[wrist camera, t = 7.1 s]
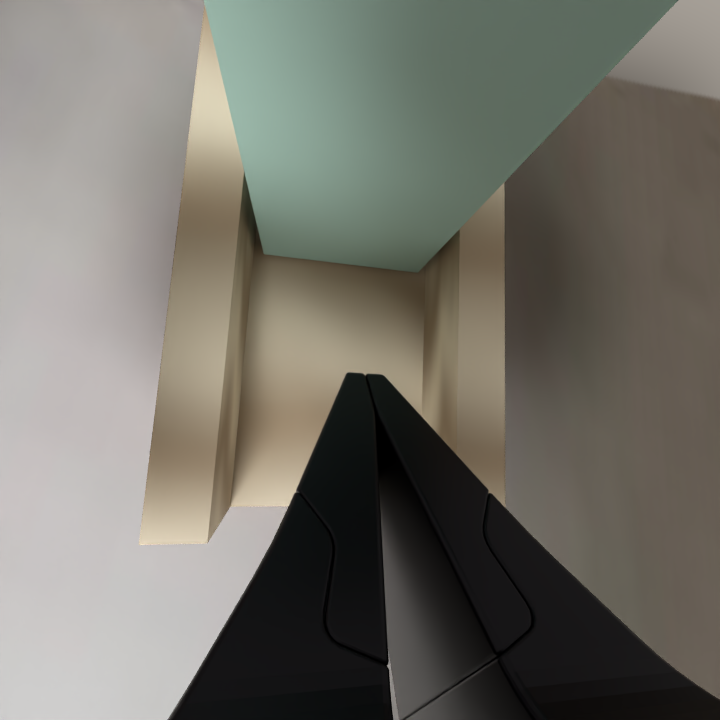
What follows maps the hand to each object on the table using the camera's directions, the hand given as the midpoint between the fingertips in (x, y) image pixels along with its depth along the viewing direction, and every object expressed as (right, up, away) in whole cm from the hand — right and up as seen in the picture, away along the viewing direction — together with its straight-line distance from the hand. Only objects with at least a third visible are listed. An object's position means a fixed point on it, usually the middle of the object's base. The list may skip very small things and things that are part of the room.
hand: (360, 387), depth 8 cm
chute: (-1, +4, +7) cm, 7 cm away
